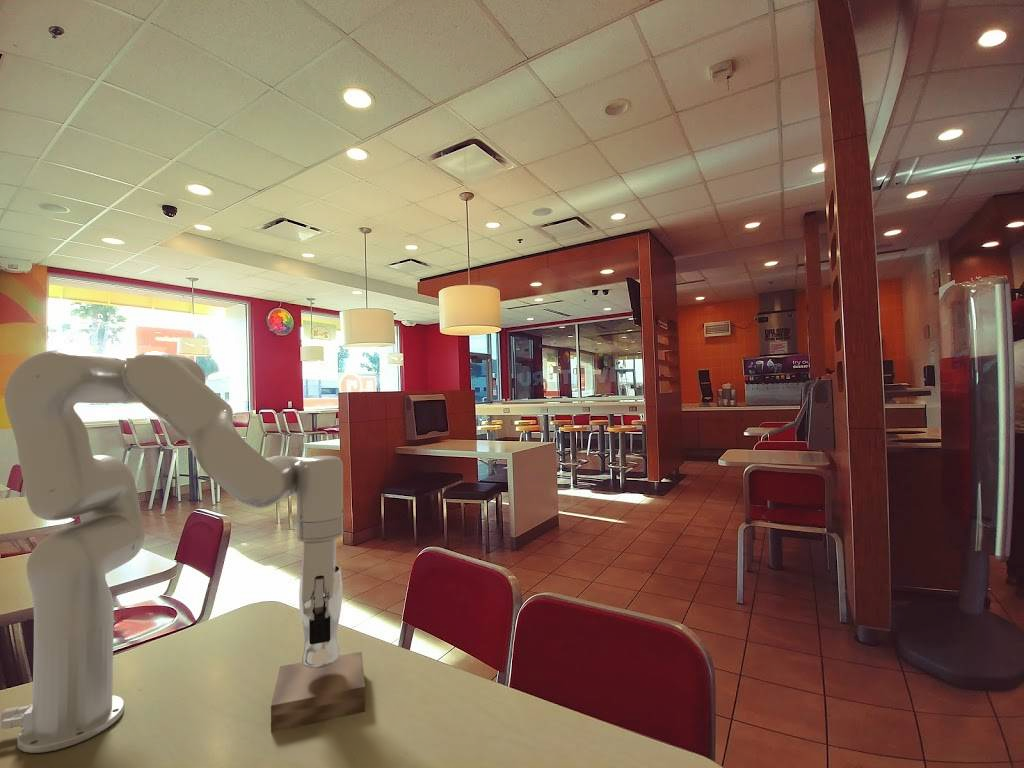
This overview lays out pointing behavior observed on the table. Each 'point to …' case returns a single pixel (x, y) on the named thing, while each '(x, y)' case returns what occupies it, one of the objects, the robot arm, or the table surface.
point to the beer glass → (329, 650)
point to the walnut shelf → (318, 692)
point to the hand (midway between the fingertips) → (320, 631)
